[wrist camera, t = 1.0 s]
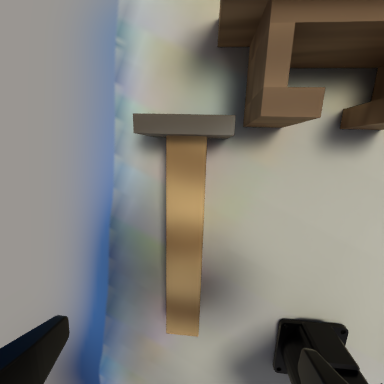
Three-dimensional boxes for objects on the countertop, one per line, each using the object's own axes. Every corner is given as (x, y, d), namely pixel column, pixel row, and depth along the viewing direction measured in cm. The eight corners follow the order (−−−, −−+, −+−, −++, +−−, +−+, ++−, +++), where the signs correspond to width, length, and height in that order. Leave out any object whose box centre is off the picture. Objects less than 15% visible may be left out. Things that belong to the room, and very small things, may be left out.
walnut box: (414, 130, 16) (661, 110, 7) (213, 126, 17) (217, 104, 8) (445, 13, 14) (821, -200, 6) (219, 17, 15) (231, -151, 7)
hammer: (216, 312, 21) (217, 360, 17) (156, 306, 22) (141, 352, 17) (228, 124, 17) (235, 115, 12) (153, 122, 18) (133, 113, 13)
